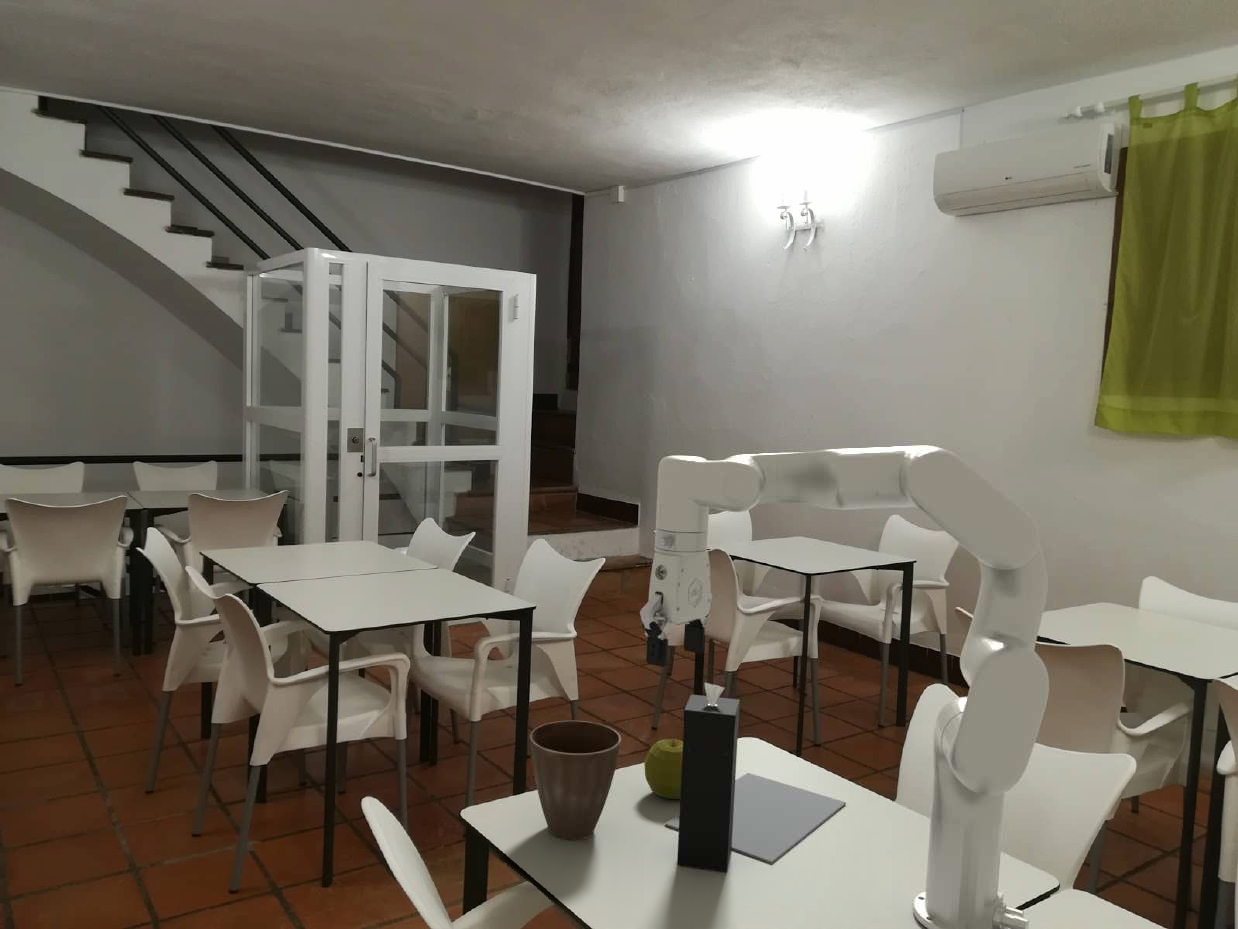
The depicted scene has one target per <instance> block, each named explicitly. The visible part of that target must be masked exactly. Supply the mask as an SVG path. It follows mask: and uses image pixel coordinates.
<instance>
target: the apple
mask: <svg viewBox="0 0 1238 929" xmlns="http://www.w3.org/2000/svg"><path fill="white" fill-rule="evenodd" d="M682 754H683V740H681V739H680V740H679V739H676V738H674V736H673V737H672V738H671V739H669V738H668V739H660V740H657V741H656V743H654V744H653V745H652V746H651V747H650V749H649V750H648V752H647V754H646V756H645V758H644V776H645V780H646V782H647V784H648V786H649V788H650V790H651V792H653V793H655V794H656V795H658V796H660V797H662V798H665V799H668V800H677V799H680V795H681V775H682Z"/></svg>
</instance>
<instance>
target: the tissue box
mask: <svg viewBox="0 0 1238 929" xmlns="http://www.w3.org/2000/svg"><path fill="white" fill-rule="evenodd" d="M704 689H705V690H704V691H705V694H706V695H700V694H699V695H698V694H690V695H689V697H688V700H687V702H686V705H685V707H684V710H683V736H682V737H683V739H682V741H683V754H682V775H681V795H680V798H679V799H680V800H679V814H678V815H679V831H678V840H677V859H676V864H677V866H683V867H687V868H696V869H701V870H702V869H703V870H710V871H717V872H723V873H724V872H725V873H727V872H728V869H729V865H730V864H729V863H730V859H731V854H732V851H733V850H732V832H733V813H734V795H735V780H736V774H737V773H736V770H737V755H738V736H739V718H740V715H739V714H740V713H739V712H740V705H741V704H740V703H741V702H740V701H741V700H740V699H738V698H737V699H736V698H728V697H727V698H726V697H720V696H721V694H722V693H723V691H724V690H725V687H722V686H720V685H717V684H712V683H708V682H704Z"/></svg>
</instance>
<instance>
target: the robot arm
mask: <svg viewBox="0 0 1238 929" xmlns="http://www.w3.org/2000/svg"><path fill="white" fill-rule="evenodd" d="M657 469H658V472H657V488H656V490H657V491H656V493H657V494H656V514H655V515H656V518H655V535H654V555H653V556H654V557H653V561H652V566H651V573H650V581H649V588H648V590H649V591H648V601H647V602H646V603H645V604H644V606H643V607H642V608H641V609H640V611H639V615H640V618H641V621H642V628H643V630H644V635H645V637H647V638H646V642H647V643H646V663H647V664H648V665H653V666H657V667H660V668H665V667H667V665H668V650H669V639H668V638H666V636H667V634H668V632H669V630H670V628H671V625H672V624H673V625H676V626H678V625H679V626H681V625H683V624H684V636H683V650H684V651H685V652H689V653H694V654H699V655H701V654H704V652H705V651H704V650H705V649H704V648H705V630H706V626H707V624H708V620H707V617H708V615H709V614H710V611H711V605H712V604H711V603H712V601H713V598H714V597H713V593H712V592H711V567H710V557H709V552H708V537H709V536H708V535H709V534H708V532H709V515H710V508H711V509H713V510H721V511H725V512H730V513H731V512H732V513H743V512H746V511H749V510H752V509H753V508H754V507H755V506H757V504H758V505H760V504H761V505H762V504H782V503H783V504H787V503H788V504H805V505H806V504H807V505H813V506H817V507H821V508H824V509H829V510H838V511H839V510H840V511H843V510H845V511H848V510H849V511H850V510H865V509H866V510H867V509H871V510H872V509H890V508H891V509H898V508H900V509H901V508H918V509H919V510H920V511H921V512H922V513H924V515H925V516H927V517H928V518H929V519H930V520H931V521H932V522H934V523H935V524H936V525H937V526H938V527H940V529H942V530H943V531H944V532H945V533H947V534H948V535H949V536H950V537H951V538H953V539H954V540H955V541H957V542H958V543H959V544H960V545H961V546H963V547H964V548H965V549H966V550H967V551H968V552H969V553H970V554H971V555H973V556H974V557H975V558H976V559H977V561H978V563H979V568H980V576H981V577H980V578H981V579H980V587H979V591H978V592H979V593H978V597H977V601H976V605H975V610H974V613H973V616H972V619H971V622H970V626H969V628H968V633H967V636H966V639H965V641H964V644H963V648H962V650H961V654H960V658H959V668H960V670H961V674H962V676H963V679H964V680H965V682H966V683H967V684H968V686H969V690H968V694H967V696H960V697H957V698H954V699H952V700H950V701H949V702H947V703H946V704H945V705H944V706H943V707H942V708H941V709H940V711H939V712H938V714H937V716H936V718H935V722H934V725H933V732H932V734H933V735H932V755H933V758H932V759H933V771H932V772H933V774H932V794H931V795H932V797H931V808H930V821H929V822H930V823H929V835H928V836H929V840H928V848H927V849H928V851H927V853H928V854H927V866H926V878H925V879H926V880H925V883H926V884H925V891H923V892H920V893H919V894H918V895H916V897H915V898H914V899H913V903H912V912H913V915H914V917H915V918H916V919H917V921H918V922H919V923H920V924H921V925H922V926H924V927H925V928H927V929H1006V928H1007V929H1029V926H1030V921H1029V919H1027V918H1024V913H1025V912H1024V911H1023V910H1020V909H1017V908H1013V907H1010V906H1008V905H1007V903H1004V892H1003V891H999V880H1000V879H999V878H1000V866H1001V864H1000V863H1001V852H1002V838H1003V826H1004V825H1003V823H1004V814H1005V802H1006V800H1005V798H1006V797H1005V796H1006V795H1005V794H1006V792H1007V793H1008V791H1010V790H1011V789H1014V787H1015V786H1016V785H1018V783H1019V782H1020V780H1021V779H1022V778H1023V775H1024V774H1025V772H1026V770H1027V767H1028V765H1029V762H1030V759H1031V755H1032V753H1033V749H1034V746H1035V743H1036V741H1037V737H1038V734H1039V730H1040V727H1041V723H1042V720H1043V717H1044V715H1045V714H1044V713H1045V710H1046V708H1047V703H1048V698H1049V692H1050V681H1049V680H1050V678H1049V674H1048V670H1047V666H1046V665H1045V663H1044V662H1043V659H1041V657H1040V656H1039V655H1038V653H1037V652H1036V651H1035V649H1036V648H1035V647H1036V643H1037V638H1038V635H1039V632H1040V627H1041V623H1042V618H1043V614H1044V611H1045V606H1046V603H1047V602H1046V601H1047V596H1048V588H1049V586H1048V583H1049V580H1048V578H1049V576H1048V569H1047V563H1046V560H1045V556H1044V554H1043V551H1042V547H1041V546H1040V532H1039V528H1038V525H1037V524H1036V521H1035V520H1034V519H1033V517H1032V515H1031V514H1030V513H1028V511H1026V510H1024V508H1023V507H1021V506H1020V505H1018V504H1017V503H1016V502H1015V501H1013V500H1012V499H1011V498H1009V497H1008V496H1007V495H1006V494H1005V493H1003V492H1002V491H1001V490H1000V489H998V488H997V487H996V486H995V485H993V484H992V483H991V482H989V481H988V480H987V479H986V478H985V477H984V476H982V475H981V474H980V473H979V472H978V471H977V470H975V469H974V468H973V467H972V466H970V464H968V463H967V462H966V461H964V460H963V458H961V457H960V456H959V455H957V454H956V453H954V452H952V451H950V450H949V449H945V448H942V447H940V446H939V447H938V446H933V445H907V446H905V445H904V446H891V447H890V446H889V447H888V446H886V447H885V446H884V447H866V448H865V447H861V448H837V449H836V448H835V449H823V450H816V451H815V450H814V451H803V452H802V451H801V452H778V453H777V452H776V453H758V454H755V453H753V454H736V455H731V456H729V457H727V458H725V459H723V460H707V459H706V458H703V457H700V456H694V455H668V456H664V457H662V459H661V460H660V462H659V463H658V468H657ZM658 624H662V625H661V626H659V625H658Z"/></svg>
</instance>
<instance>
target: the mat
mask: <svg viewBox="0 0 1238 929" xmlns="http://www.w3.org/2000/svg"><path fill="white" fill-rule="evenodd" d="M845 804H846V805H847V802H846V801H843V800H840V799H836V798H834V797H829V796H826V795H823V794H820V793H816V792H813V791H810V790H807V789H803V788H801V787H800V788H799V787H796V786H793V785H790V784H788V783H787V784H786V783H784V782H783V783H782V782H780V781H777V780H773V779H770V778H766V777H763V776H760V775H757V774H754V773H751V772H747V773H745V774H744V775H742V776H740V777H739V778H737V779H735V795H734V813H733V832H732V850H731V851H735V852H737V853H740V854H743V855H746V856H749V857H752V858H753V859H754V858H755V859H757V860H760V861H763V862H765V863H768V864H771V865H772V864H773V863H775V862H777V860H778V859H779V858H781V857H782V856H783V855H785V854H786V853H787V852H788V851H790V850H791V849H792V848H793V847H795V846H796V845H797V844H798V843H800V842H801V841H802V840H804V839H805V838H806V837H807V836H808V835H810V834H812V832H813V831H815V830H816V829H817V828H819V827H820V826H821V825H822V824H823V823H824V822H826V821H827V820H828V819H829V818H831V817H832V816H834V815H835V814H836V813H837V812H839V811H840V810H841V809H842V808H843V807H845V806H846V805H845ZM840 808H841V809H840ZM679 815H680V814H678V815H676V816H674V817H673V818H672V819H670V820H668V821H666V822H665V823H664V826H665V827H667V828H670V829H673V830H676V831H678V832H679Z"/></svg>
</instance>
